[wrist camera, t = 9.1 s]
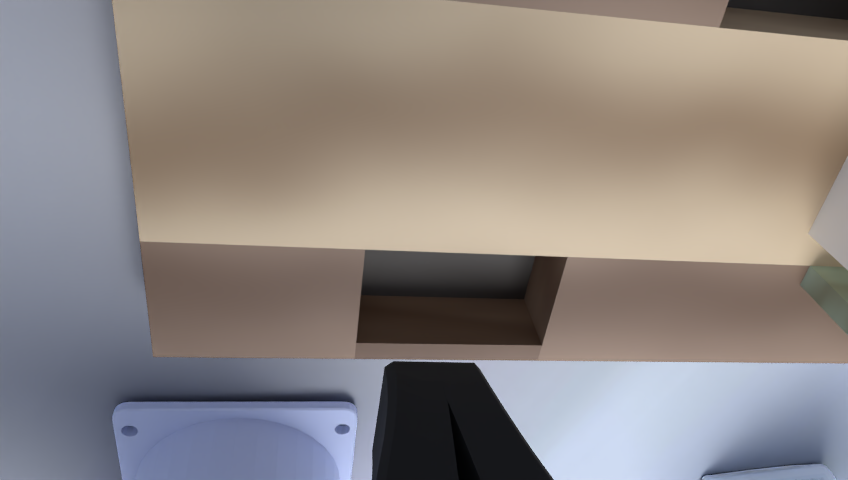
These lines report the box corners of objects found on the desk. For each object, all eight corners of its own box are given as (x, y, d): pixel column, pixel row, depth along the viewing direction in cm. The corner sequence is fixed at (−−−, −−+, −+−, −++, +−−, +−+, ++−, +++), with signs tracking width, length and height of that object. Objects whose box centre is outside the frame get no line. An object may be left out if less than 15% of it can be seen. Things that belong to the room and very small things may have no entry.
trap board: (863, 317, 25) (971, 424, 21) (169, 302, 21) (131, 431, 17) (1124, -111, 17) (1375, -78, 13) (116, -269, 13) (23, -291, 9)
